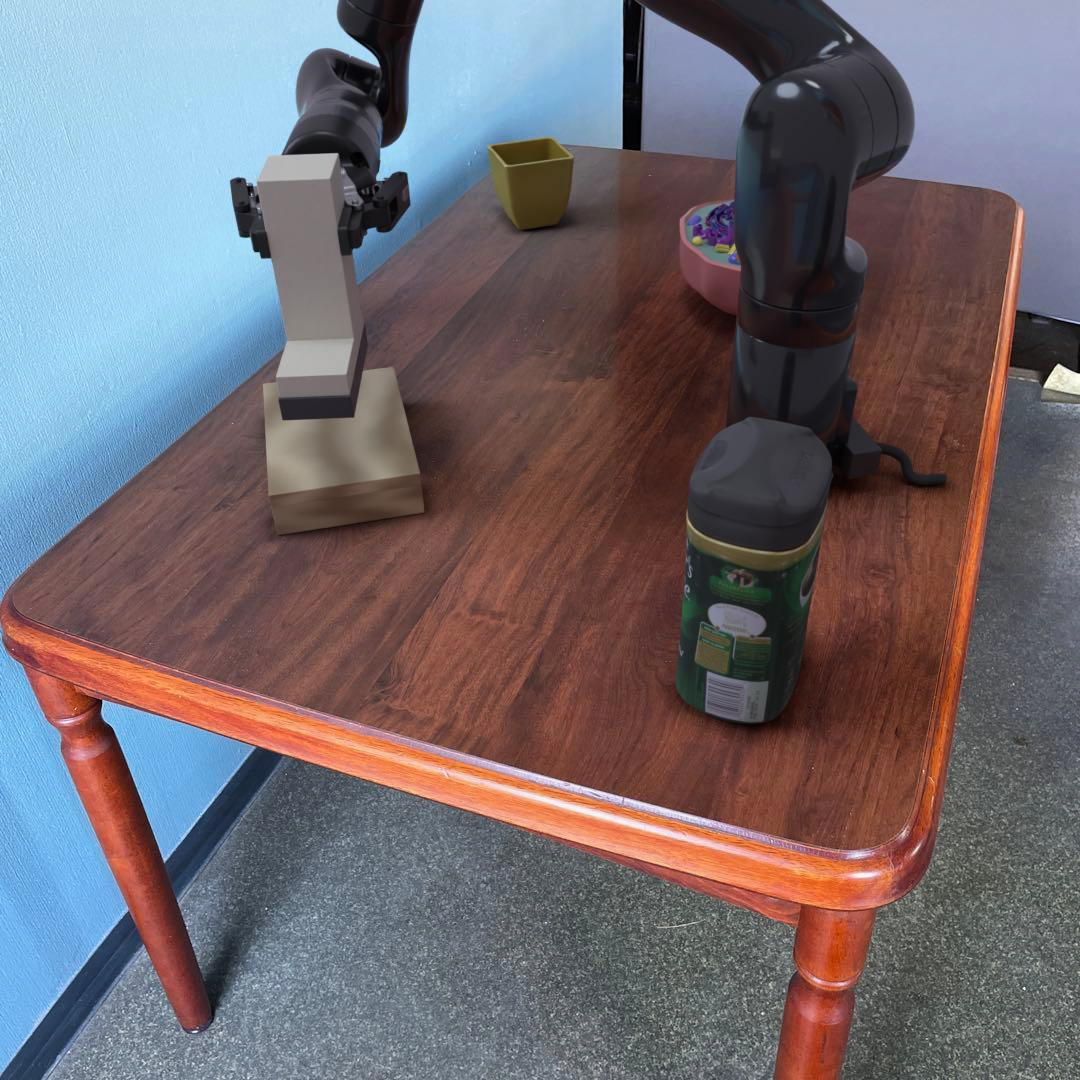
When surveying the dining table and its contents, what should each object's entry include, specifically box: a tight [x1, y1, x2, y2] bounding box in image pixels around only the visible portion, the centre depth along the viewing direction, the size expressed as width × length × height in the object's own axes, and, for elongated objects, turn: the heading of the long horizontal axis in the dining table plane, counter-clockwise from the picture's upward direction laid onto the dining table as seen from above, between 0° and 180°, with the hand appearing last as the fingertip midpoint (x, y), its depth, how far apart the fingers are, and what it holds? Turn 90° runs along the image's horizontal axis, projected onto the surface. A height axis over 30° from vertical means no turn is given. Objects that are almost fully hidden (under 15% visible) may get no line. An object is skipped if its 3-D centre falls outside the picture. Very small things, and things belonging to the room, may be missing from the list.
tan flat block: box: [262, 366, 425, 536], centre depth 93 cm, size 12×18×4 cm, turn 13°
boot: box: [255, 153, 369, 420], centre depth 77 cm, size 11×5×16 cm, turn 2°
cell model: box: [678, 198, 741, 317], centre depth 114 cm, size 17×20×11 cm
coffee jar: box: [675, 417, 833, 725], centre depth 67 cm, size 10×8×19 cm
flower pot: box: [487, 136, 575, 231], centre depth 134 cm, size 9×9×9 cm
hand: (304, 244), depth 75 cm, fingers closed on boot, 5 cm apart
